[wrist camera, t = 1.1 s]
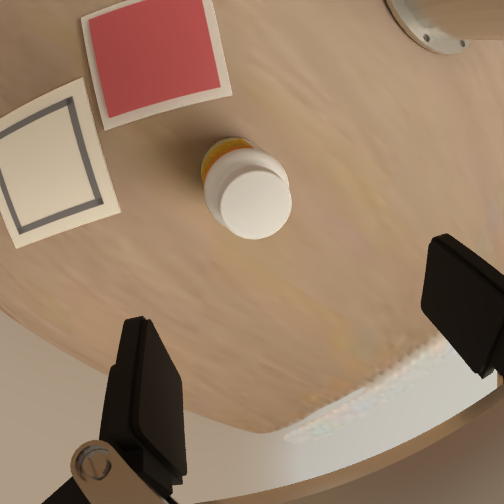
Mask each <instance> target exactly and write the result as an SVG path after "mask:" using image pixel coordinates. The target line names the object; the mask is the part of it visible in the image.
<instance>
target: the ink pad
mask: <svg viewBox="0 0 504 504" xmlns="http://www.w3.org/2000/svg"><path fill="white" fill-rule="evenodd" d="M81 23H82V29H83V35H84V41H85V46H86V52H87V57H88V62H89V67H90V71H91V76H92V81H93V85H94V90H95V94H96V98H97V102H98V106H99V110H100V114H101V118H102V122H103V126H104V130H105V131H106V130H109V129H111V128H114V127H117V126H120V125H123V124H126V123H129V122H132V121H135V120H138V119H142V118H145V117H148V116H151V115H155V114H158V113H162V112H165V111H169V110H173V109H176V108H180V107H184V106H188V105H192V104H196V103H200V102H204V101H209V100H213V99H218V98H222V97H227V96H232V90H231V86H230V81H229V76H228V71H227V67H226V62H225V57H224V53H223V48H222V43H221V39H220V34H219V30H218V25H217V20H216V16H215V11H214V7H213V2H212V0H127V1H124V2H121V3H118V4H115V5H112V6H110V7H107V8H104V9H101V10H99V11H96V12H93V13H91V14H88V15H86V16H84V17H81Z"/></svg>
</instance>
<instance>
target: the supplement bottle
mask: <svg viewBox="0 0 504 504" xmlns="http://www.w3.org/2000/svg"><path fill="white" fill-rule="evenodd" d="M201 179H202V185H203V191H204V197H205V202H206V205H207V207H208V209H209V211H210V213H211V214H212V216H213V217H214V218H215V219H216V220H217V221H218V222H219V223H220V224H222V225H223V226H225V227H226V228H228V229H229V230H230V231H231V232H233V233H234V234H236V235H238V236H240V237H242V238H246V239H261V238H265V237H268V236H270V235H272V234H274V233H275V232H277V231H278V230H279V229H280V228H281V227H282V226H283V225H284V224H285V222H286V220H287V219H288V217H289V214H290V211H291V204H292V201H291V194H290V191H289V182H288V177H287V175H286V172H285V170H284V168H283V167H282V166H281V164H280V163H279V162H278V161H277V160H276V159H275V158H274V157H273V156H271V155H270V154H269V153H267V152H266V151H264V150H263V149H261V148H260V147H259V146H257V145H256V144H254V143H253V142H251V141H249V140H246V139H243V138H237V137H233V138H226V139H223V140H220V141H218V142H217V143H215V144H214V145H213V146H211V147H210V148H209V150H208V151H207V152H206V154H205V156H204V158H203V160H202V164H201Z"/></svg>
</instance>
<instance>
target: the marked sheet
mask: <svg viewBox="0 0 504 504" xmlns="http://www.w3.org/2000/svg"><path fill="white" fill-rule="evenodd" d="M0 212H1V214H2V217H3V219H4V222H5V224H6V227H7V229H8V231H9V234H10V236H11V238H12V241H13V243H14V245H15V247H16V249H17V248H20V247H22V246H25V245H28V244H30V243H33V242H36V241H38V240H41V239H44V238H47V237H49V236H52V235H55V234H58V233H61V232H63V231H66V230H69V229H72V228H75V227H78V226H81V225H84V224H87V223H90V222H93V221H96V220H99V219H102V218H105V217H109V216H112V215H115V214H118V213H121V212H122V211H121V208H120V205H119V202H118V199H117V196H116V193H115V190H114V187H113V184H112V181H111V177H110V174H109V171H108V168H107V165H106V161H105V158H104V155H103V151H102V148H101V144H100V141H99V137H98V133H97V130H96V126H95V122H94V118H93V114H92V110H91V106H90V102H89V98H88V94H87V90H86V85H85V81H84V77H82V78H79V79H77V80H75V81H72V82H70V83H68V84H66V85H63V86H61V87H59V88H57V89H55V90H52V91H50V92H48V93H46V94H44V95H42V96H40V97H38V98H36V99H34V100H32V101H30V102H29V103H27V104H25V105H23V106H21V107H19V108H17V109H16V110H14V111H12V112H10V113H9V114H7V115H5V116H4V117H2V118H0Z"/></svg>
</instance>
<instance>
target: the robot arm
mask: <svg viewBox="0 0 504 504" xmlns="http://www.w3.org/2000/svg"><path fill="white" fill-rule="evenodd" d="M386 2H387V4H388V6H389V8H390V10H391V12H392V14H393V16H394V17H395V19H396V20H397V22H398V23H399V25H400V26H401V27H402V28H403V30H404V31H405V32H406V33H407V34H408V35H409V36H410V37H411V38H412V39H413V40H414V41H415V42H416V43H418V44H419V45H421V46H422V47H423V48H425V49H427V50H429V51H431V52H433V53H437V54H441V55H454V54H459V53H461V52H463V51H465V50H466V49H467V48H468V47H469V45H470V44H471V42H472V40H504V0H386ZM421 309H422V311H423V313H424V314H425V315H426V316H427V317H428V319H429V320H430V321H431V322H432V323H433V324H434V325H435V327H436V328H437V329H438V330H439V331H440V332H441V333H442V335H443V336H444V337H445V338H446V339H447V340H448V342H449V343H450V344H451V345H452V346H453V348H454V349H455V350H456V351H457V352H458V354H459V355H460V356H461V357H462V359H463V360H464V361H465V362H466V363H467V365H468V366H469V367H470V368H471V370H472V371H473V372H474V373H478V374H479V376H480V377H481V378H482V379H483V378H485V377H487V376H488V375H490V374H491V373H493V371H494V369H496V370H497V377H498V378H497V381H498V382H497V389H496V390H494V391H493V392H491V393H490V394H488V395H487V396H485V397H484V398H482V399H481V400H479V401H478V402H476V403H475V404H473V405H472V406H470V407H469V408H467V409H465V410H464V411H462V412H460V413H459V414H457V415H455V416H454V417H452V418H450V419H449V420H447V421H445V422H443V423H441V424H440V425H438V426H436V427H434V428H432V429H430V430H429V431H427V432H425V433H423V434H421V435H419V436H417V437H415V438H413V439H411V440H409V441H407V442H405V443H403V444H401V445H398V446H396V447H394V448H392V449H390V450H387V451H385V452H383V453H381V454H378V455H376V456H374V457H371V458H368V459H366V460H363V461H361V462H359V463H356V464H353V465H351V466H348V467H345V468H342V469H339V470H337V471H334V472H331V473H328V474H325V475H322V476H318V477H315V478H312V479H309V480H305V481H302V482H298V483H295V484H291V485H287V486H283V487H279V488H275V489H271V490H266V491H262V492H258V493H253V494H248V495H244V496H238V497H233V498H227V499H222V500H215V501H208V502H202V503H196V504H504V275H503V274H501V273H500V272H499V271H498V270H496V269H495V268H494V267H493V266H491V265H490V264H489V263H487V262H486V261H485V260H484V259H482V258H481V257H480V256H478V255H477V254H476V253H474V252H473V251H472V250H470V249H469V248H467V247H466V246H465V245H463V244H462V243H461V242H459V241H458V240H456V239H455V238H454V237H452V236H451V235H449V234H442V235H439V236H436V237H434V238H432V240H431V243H430V244H429V247H428V255H427V264H426V272H425V279H424V286H423V292H422V299H421ZM70 467H71V473H72V475H73V476H72V477H71V478H70V479H69V480H68V481H67V482H65V483H64V484H63V485H62V486H61V487H60V488H59V489H58V490H57V491H55V492H54V493H53V494H52V495H51V496H50V497H49V498H47V499H46V500H45V501H44V502H43V503H42V504H180V503H179V502H177V501H176V500H175V499H174V498H173V497H172V496H171V494H172V493H173V489H172V485H181V484H183V480H182V476H185V475H186V474H187V462H186V449H185V434H184V417H183V393H182V381H181V377H180V375H179V373H178V371H177V369H176V367H175V366H174V364H173V362H172V360H171V358H170V356H169V354H168V352H167V350H166V349H165V347H164V345H163V343H162V341H161V339H160V337H159V335H158V333H157V331H156V329H155V327H154V325H153V323H152V321H151V320H150V319H148V320H146V319H145V318H144V317H143V316H140V317H135V318H131V319H126V320H125V321H124V324H123V329H122V334H121V339H120V344H119V349H118V354H117V359H116V365H113V366H112V367H111V369H110V372H109V377H108V383H107V388H106V394H105V400H104V407H103V413H102V420H101V427H100V435H99V440H92V441H88V442H86V443H84V444H82V445H81V446H80V447H79V448H78V449H77V450H76V451H75V453H74V454H73V456H72V459H71V465H70Z"/></svg>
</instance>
